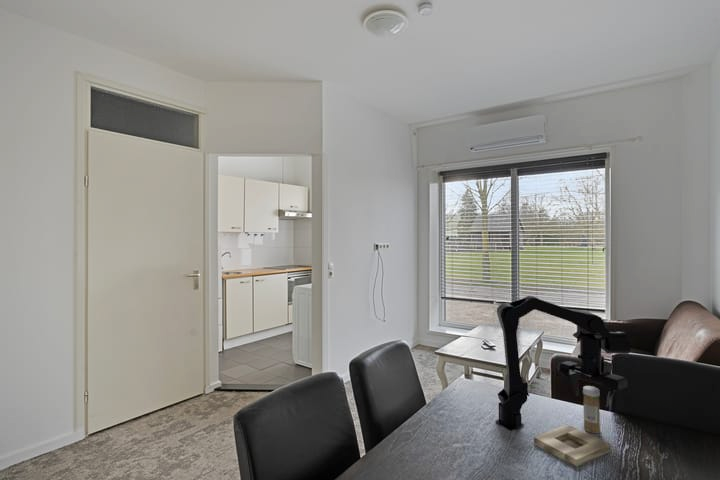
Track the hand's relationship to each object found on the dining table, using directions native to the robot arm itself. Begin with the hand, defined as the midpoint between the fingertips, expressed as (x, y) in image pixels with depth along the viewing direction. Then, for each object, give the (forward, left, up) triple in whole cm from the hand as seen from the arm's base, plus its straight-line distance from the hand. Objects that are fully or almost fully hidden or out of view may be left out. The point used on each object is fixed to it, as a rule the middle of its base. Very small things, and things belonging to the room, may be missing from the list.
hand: (591, 401), depth 117 cm
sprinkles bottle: (0, 0, -10) cm, 10 cm away
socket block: (+3, -15, -9) cm, 18 cm away
